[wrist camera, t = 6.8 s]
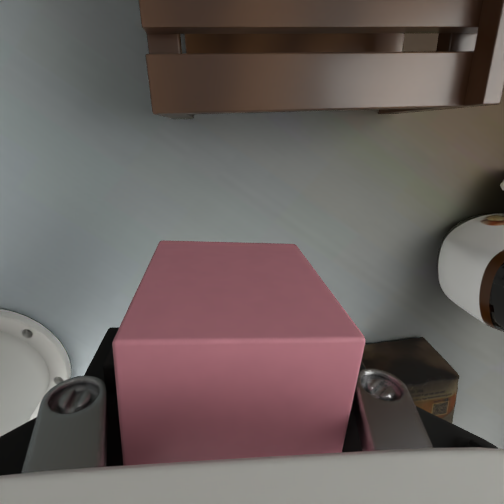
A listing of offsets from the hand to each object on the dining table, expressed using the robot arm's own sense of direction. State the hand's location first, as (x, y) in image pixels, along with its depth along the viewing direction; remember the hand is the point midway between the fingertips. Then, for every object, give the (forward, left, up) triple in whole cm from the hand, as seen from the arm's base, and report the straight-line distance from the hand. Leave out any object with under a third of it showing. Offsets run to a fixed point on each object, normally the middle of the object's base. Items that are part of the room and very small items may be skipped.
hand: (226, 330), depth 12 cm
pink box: (0, 0, 0) cm, 0 cm away
